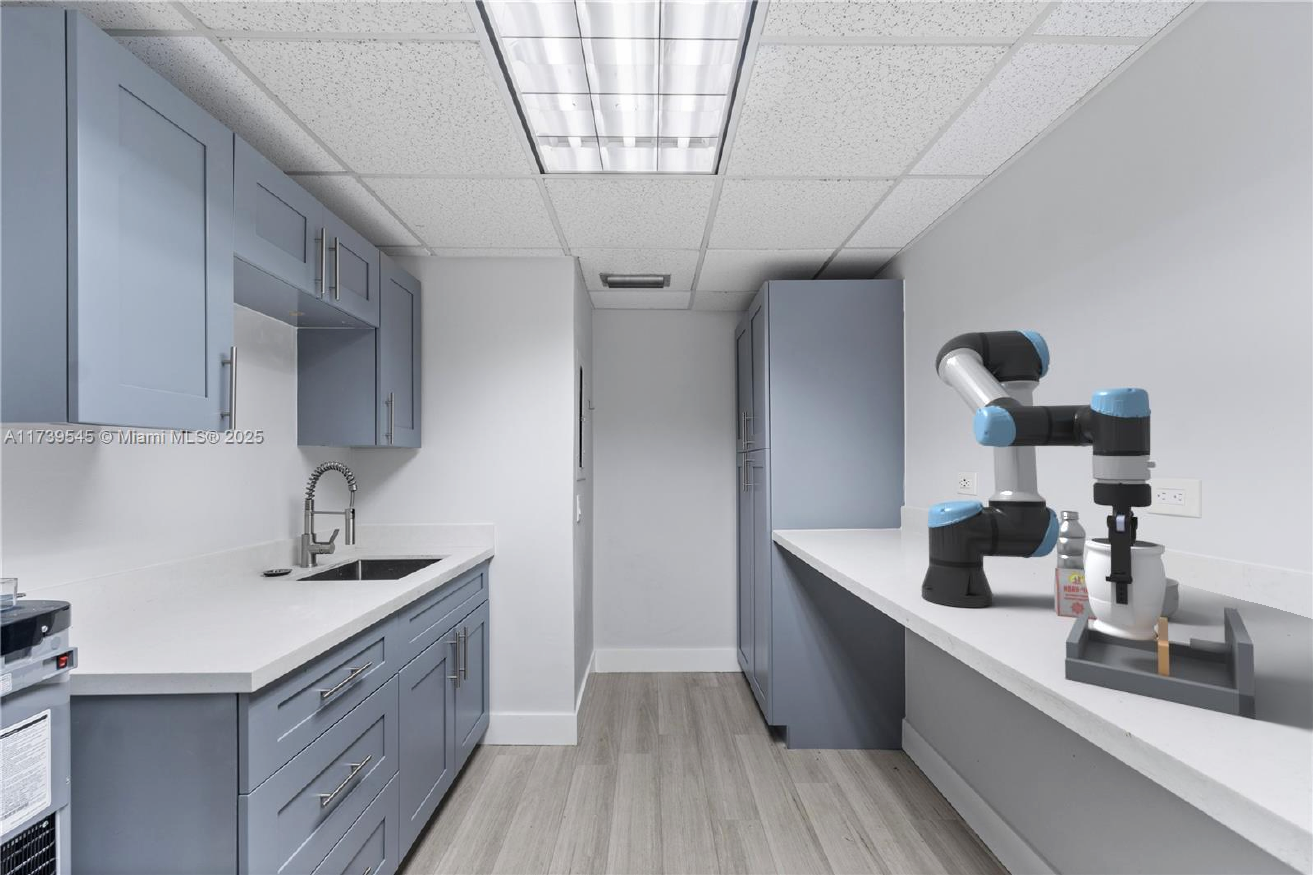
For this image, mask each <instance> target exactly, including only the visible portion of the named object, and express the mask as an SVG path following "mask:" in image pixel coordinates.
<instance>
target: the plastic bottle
mask: <svg viewBox="0 0 1313 875" xmlns="http://www.w3.org/2000/svg"><path fill="white" fill-rule="evenodd" d="M1059 518H1060V520H1061V521H1059V535H1058V540H1057V543H1056V545H1055V546H1056V553H1057V555H1056V556H1057V557H1056V558H1057V560H1056V568H1062V569H1076V570H1085V564H1084V563H1085V562H1084V550H1085V540H1086V537H1087V533H1086V530H1085V529H1084V527H1083V526H1082V525H1081V523H1080V522H1079V520H1080V517H1079V512H1078V511H1072V510H1061V511H1060V517H1059Z"/></svg>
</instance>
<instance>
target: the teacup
mask: <svg viewBox="0 0 1313 875" xmlns="http://www.w3.org/2000/svg"><path fill="white" fill-rule="evenodd" d="M1179 584H1180V583H1179V582H1178V580H1175V579H1172V578H1169V577H1166V591H1165V597H1164V602H1163V606H1162V612H1161V616H1160V617H1163V618H1167V619H1168V618H1170V616H1172V615H1174V614H1176V612H1178V610H1179V606H1180V605H1179V601H1180V600H1179V598H1180V596H1179V595H1180V594H1179Z"/></svg>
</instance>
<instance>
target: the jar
mask: <svg viewBox="0 0 1313 875" xmlns="http://www.w3.org/2000/svg"><path fill="white" fill-rule="evenodd" d="M1084 546H1085V547H1086V548H1088V552H1087V555H1086V558H1085V564H1084V570H1085V581H1086V587H1087V591H1088V596H1089V602H1090V606H1091V609H1092V611H1093V613H1094V615H1095V616H1096V620H1094V622H1093V624H1092V626H1093V627H1092V628H1094V629H1096V630H1097V631H1099V632H1102V633H1104V634H1107V635H1110V636H1114V637H1118V638H1124V639H1130V640H1154V639H1158V631H1156V629H1155V626H1156V625H1158V620H1159V618H1160V616H1161V612H1162V606H1163V602H1164V597H1165V591H1166V578H1167V577H1166V572H1165V566H1164V562H1163V560H1162V557H1161V555H1163V554H1164V553H1165V552H1166V549H1165V548H1166V546H1165V545H1163V544H1161V543H1156V542H1150V541H1145V540H1139V539H1136V542H1135V544H1133V547H1131V576H1132V579H1133V582H1132V583H1133V615H1134V626H1131V625H1125V624H1118V623H1112V618H1111V582H1107V581H1106V578H1105V576H1109V577H1110V574H1111V543H1110V542H1109V539H1108V537H1094V538H1093V537H1092V538H1087V539H1086V538H1085V544H1084ZM1118 573H1119V572H1118ZM1124 574H1126V573H1124Z"/></svg>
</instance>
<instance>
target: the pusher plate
mask: <svg viewBox="0 0 1313 875" xmlns="http://www.w3.org/2000/svg"><path fill="white" fill-rule="evenodd" d="M1168 627H1169V624H1168V618H1163V617H1160V618H1159V620H1158V622H1157V634H1158V638H1157V639H1158V672H1159V675H1162V676H1167V677H1169V642H1168V641H1169V628H1168Z"/></svg>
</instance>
